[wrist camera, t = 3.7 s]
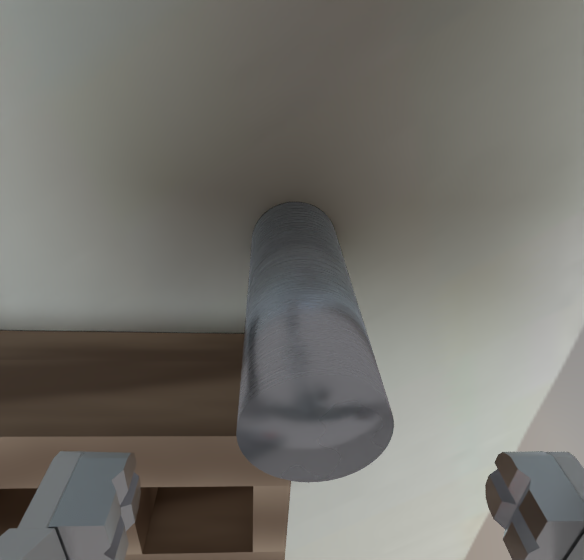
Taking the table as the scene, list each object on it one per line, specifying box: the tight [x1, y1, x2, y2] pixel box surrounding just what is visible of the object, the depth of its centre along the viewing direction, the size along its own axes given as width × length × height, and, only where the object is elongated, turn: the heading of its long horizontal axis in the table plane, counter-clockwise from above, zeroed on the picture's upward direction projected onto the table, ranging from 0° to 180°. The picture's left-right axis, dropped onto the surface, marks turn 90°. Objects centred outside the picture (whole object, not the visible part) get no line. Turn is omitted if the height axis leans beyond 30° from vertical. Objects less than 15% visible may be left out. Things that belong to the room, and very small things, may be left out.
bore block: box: [0, 331, 291, 560], centre depth 21 cm, size 11×16×6 cm
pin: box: [236, 202, 394, 482], centre depth 14 cm, size 4×4×10 cm
